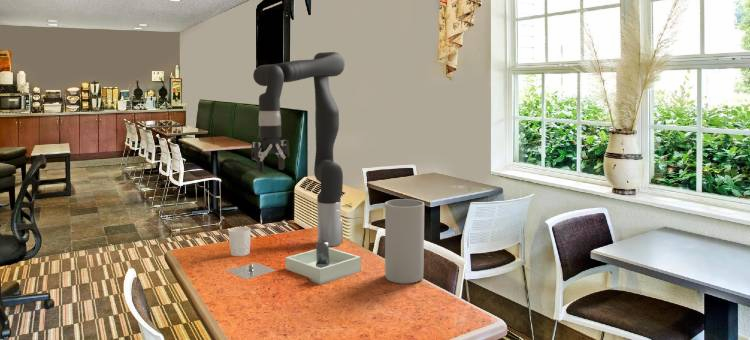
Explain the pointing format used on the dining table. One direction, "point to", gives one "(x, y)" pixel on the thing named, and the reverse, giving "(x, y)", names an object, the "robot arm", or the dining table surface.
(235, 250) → the white cup
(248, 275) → the stud plate
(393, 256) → the cylinder vase
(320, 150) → the robot arm
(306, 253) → the sage bin
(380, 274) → the dining table surface
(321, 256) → the dark grey stamp
